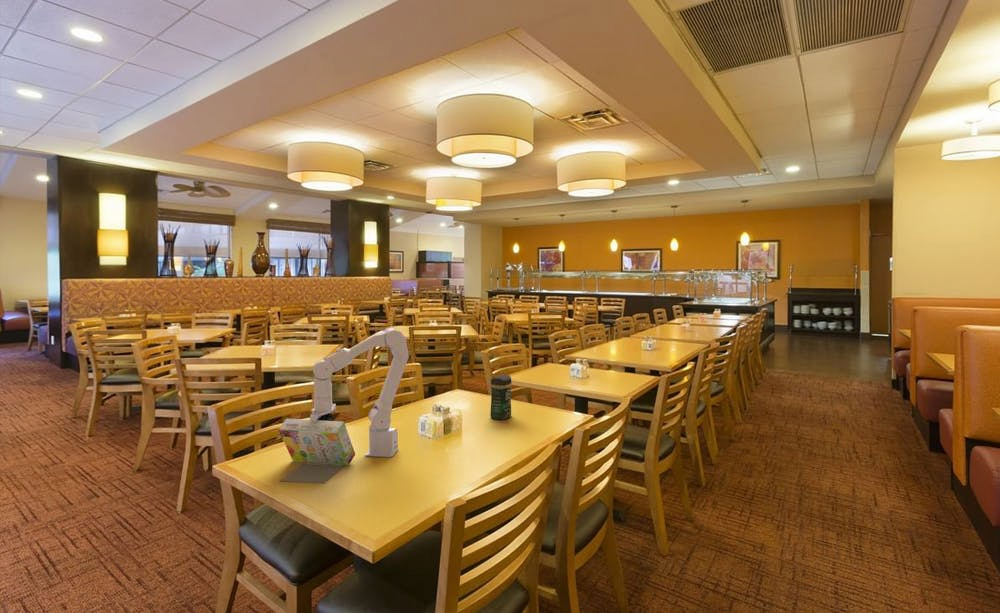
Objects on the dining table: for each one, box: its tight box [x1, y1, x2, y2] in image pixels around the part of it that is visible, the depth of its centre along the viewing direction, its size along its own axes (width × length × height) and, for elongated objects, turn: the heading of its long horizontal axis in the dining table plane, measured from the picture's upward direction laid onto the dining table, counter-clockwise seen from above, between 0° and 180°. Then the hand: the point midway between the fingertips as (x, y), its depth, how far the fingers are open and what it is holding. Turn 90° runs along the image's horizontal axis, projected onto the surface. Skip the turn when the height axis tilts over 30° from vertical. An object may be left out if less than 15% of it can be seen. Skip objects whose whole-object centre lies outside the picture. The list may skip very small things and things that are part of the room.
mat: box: [279, 463, 343, 484], centre depth 153 cm, size 14×13×1 cm
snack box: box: [278, 418, 356, 466], centre depth 159 cm, size 21×6×15 cm
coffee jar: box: [489, 374, 513, 420], centre depth 213 cm, size 10×8×19 cm
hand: (324, 436), depth 163 cm, fingers closed
